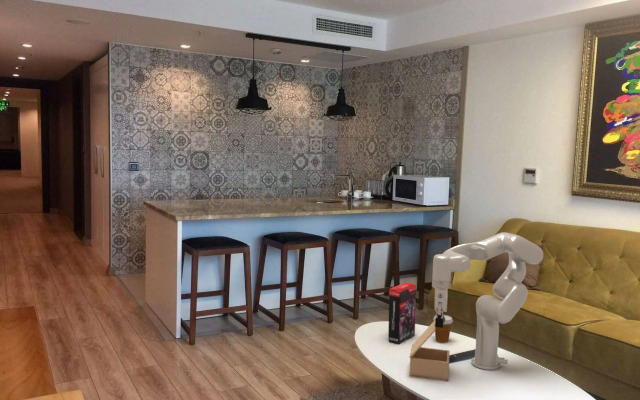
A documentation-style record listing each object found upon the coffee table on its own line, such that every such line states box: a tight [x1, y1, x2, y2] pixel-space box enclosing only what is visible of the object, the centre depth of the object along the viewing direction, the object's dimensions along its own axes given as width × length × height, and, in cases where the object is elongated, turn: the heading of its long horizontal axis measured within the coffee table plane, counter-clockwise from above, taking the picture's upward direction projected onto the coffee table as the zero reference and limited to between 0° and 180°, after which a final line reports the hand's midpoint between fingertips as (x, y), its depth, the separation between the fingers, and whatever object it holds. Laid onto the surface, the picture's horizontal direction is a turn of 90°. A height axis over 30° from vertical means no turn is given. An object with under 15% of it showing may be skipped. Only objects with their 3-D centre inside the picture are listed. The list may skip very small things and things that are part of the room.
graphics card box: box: [387, 281, 417, 345], centre depth 275 cm, size 17×7×27 cm, turn 143°
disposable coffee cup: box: [432, 314, 454, 344], centre depth 275 cm, size 10×10×12 cm
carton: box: [409, 346, 451, 382], centre depth 238 cm, size 16×14×8 cm
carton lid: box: [408, 316, 445, 358], centre depth 236 cm, size 22×14×4 cm
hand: (439, 324), depth 235 cm, fingers closed on carton lid, 4 cm apart
